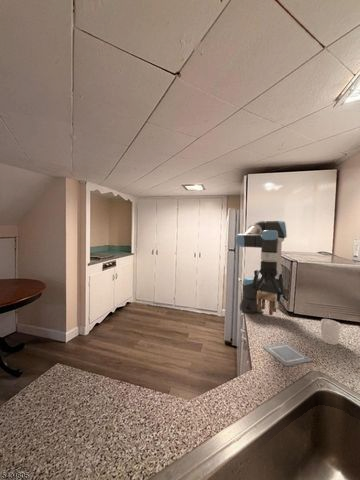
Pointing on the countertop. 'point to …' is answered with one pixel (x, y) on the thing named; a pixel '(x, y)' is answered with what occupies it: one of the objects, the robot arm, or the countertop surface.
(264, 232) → the robot arm
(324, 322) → the white cup
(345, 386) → the countertop surface
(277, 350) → the mat
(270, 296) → the stool
